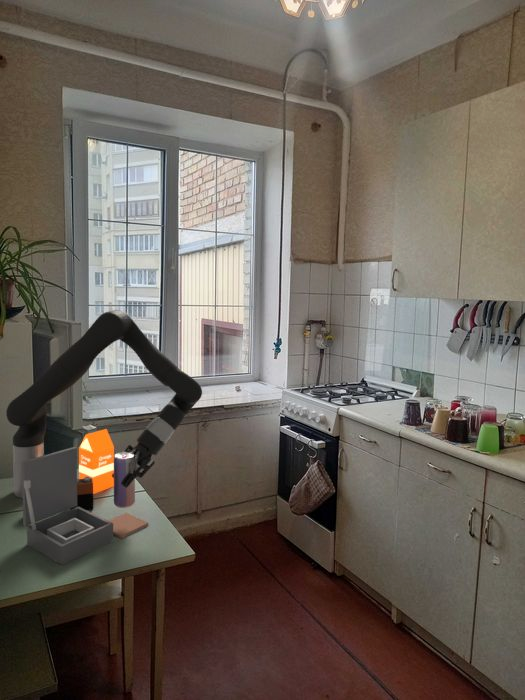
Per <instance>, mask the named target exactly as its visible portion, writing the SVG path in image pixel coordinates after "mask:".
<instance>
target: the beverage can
mask: <svg viewBox="0 0 525 700" xmlns="http://www.w3.org/2000/svg"><path fill="white" fill-rule="evenodd" d="M134 460H135V457H134V454H133V453H130V452H124V451H121V452H118V453H116V454H115V453H114V486H113V504H114V505H115V506H116V508H120V509H126V508H127V509H128V508H131V507H132V506H133V505H134V504H135V502H136V485H135V484H136V478H135V479H134V480H133V481H132V482H131V483H130V485H129V486H128V487H127V488H126V487H124V486H123V485H122V484H121V482H122V481H123V480H124V479H125V477H126V476H127V475H128V474H129V473H130V471H131V469H132V467H133V463H134Z"/></svg>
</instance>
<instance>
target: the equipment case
mask: <svg viewBox="0 0 525 700" xmlns="http://www.w3.org/2000/svg"><path fill="white" fill-rule="evenodd" d="M77 449H78V448H77V447H76V446H73V447H69V448H65V449H62V450H58V451H55V452H52V453H48V454H47V453H46V454H44V456H40V457H36V458H33V459H29V460H26V461H22V494H23V498H22V524H23V526H25V527H26V541H27V542H26V543H27V545H28V546H30V547H32V548H33V549H35V550H37V551H38V552H39V553H41V554H43V555H45V556H46V557H48V558H50V559H51V560H53V561H54V562H56V563H58V564H59V565H61V566H63V565H65V564H67V563H69V562H71V561H73V560H75V559H76V558H79V557H81V556H83V555H85V554H87V553H89V552H92V551H93V550H95V549H98V548H100V547H102V546H104V545H107V544H108V543H110V542H112V541H114V534H113V523H112V522H110V521H108V520H107V519H106V518H103V517H101V516H99V515H97V514H95V513H93V512H92V511H90V510H85V509H83V508H81V507H76V506H77V479H78V456H77V455H78V450H77ZM73 507H76V508H73ZM71 508H73V509H71ZM70 509H71V510H70ZM74 533H75V534H74ZM72 534H73V535H72ZM69 535H70V536H69ZM67 536H69V537H67Z"/></svg>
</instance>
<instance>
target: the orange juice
mask: <svg viewBox="0 0 525 700" xmlns="http://www.w3.org/2000/svg"><path fill="white" fill-rule="evenodd" d="M114 451H115V446H114V443H113V441H112V439H111V436H110V434H109V432H108V429H107V428H105V429H101V430H97V431H95V432H94V431H93V432H91V433H86V434H85V436H84V438H83V439H82V442H81V444H80V445H79V447H78V475H79V476H78V479H84V477H90V478H92V479H93V495H94V494H97V493H99V492H103V491H104V490H107V489H110V488H114V478H113V477H112V474H113V473H114V456H115V452H114Z"/></svg>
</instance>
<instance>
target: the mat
mask: <svg viewBox="0 0 525 700" xmlns="http://www.w3.org/2000/svg"><path fill="white" fill-rule="evenodd" d="M107 521H110V522H112V523H113V536H116V537H118V538H119V539H123V538H125V537H127V536H129V535H131V534H133V533H135V532H138V531H139V530H141V529H143V528H146V527H147V526H149V522H147V521H145V520H144V519H141V518H140V517H137V516H135V515H133V514H130V513H129V512H124V513H122V514H119V515H118V516H115V517H114V518H110V519H109V520H107Z"/></svg>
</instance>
